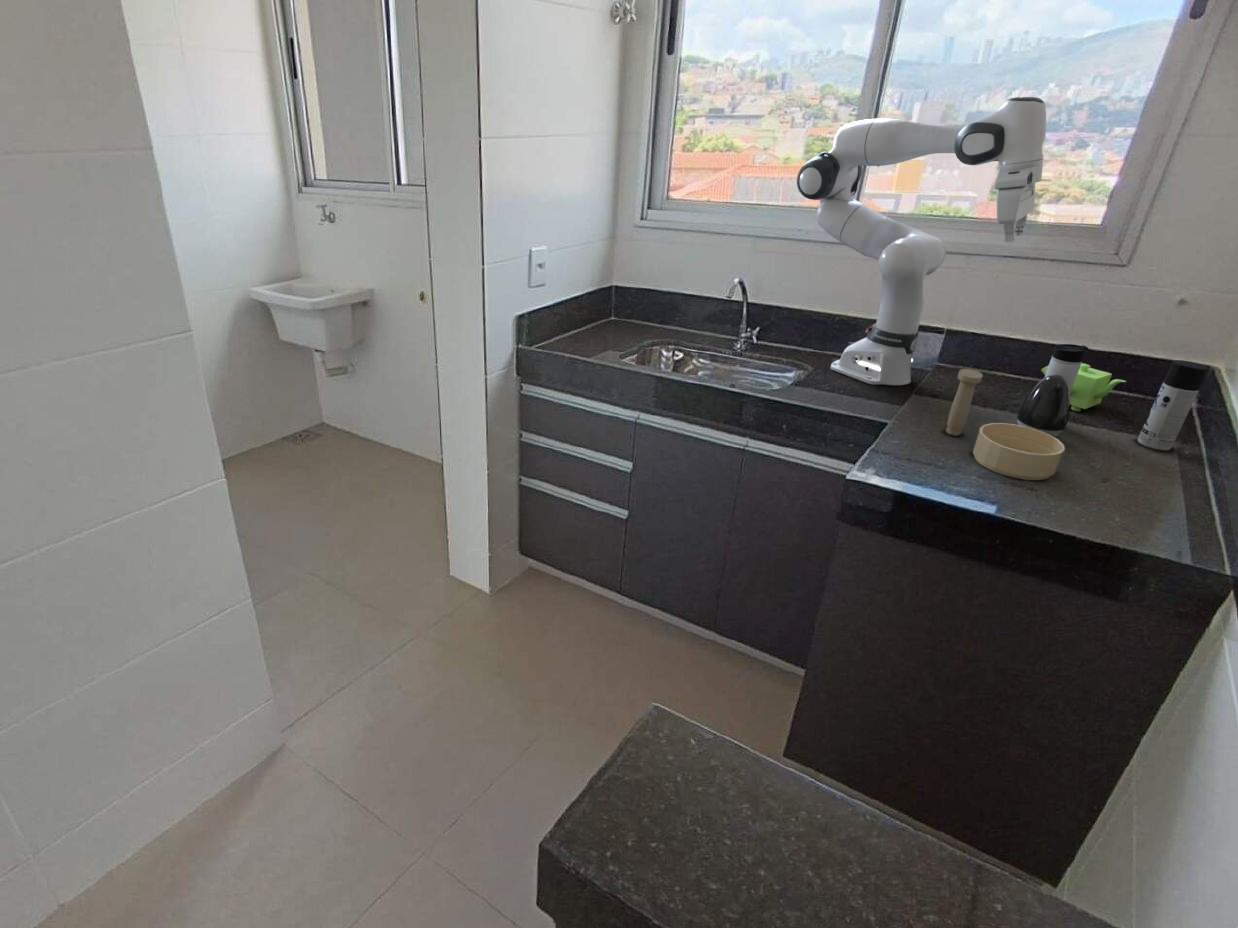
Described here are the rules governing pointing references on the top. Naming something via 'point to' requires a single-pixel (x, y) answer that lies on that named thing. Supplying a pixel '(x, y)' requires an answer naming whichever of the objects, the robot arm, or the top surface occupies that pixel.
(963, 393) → the handle
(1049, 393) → the black tapered dome
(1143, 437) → the spray can
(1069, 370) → the travel mug
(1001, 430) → the bowl
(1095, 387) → the kettle
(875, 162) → the robot arm
